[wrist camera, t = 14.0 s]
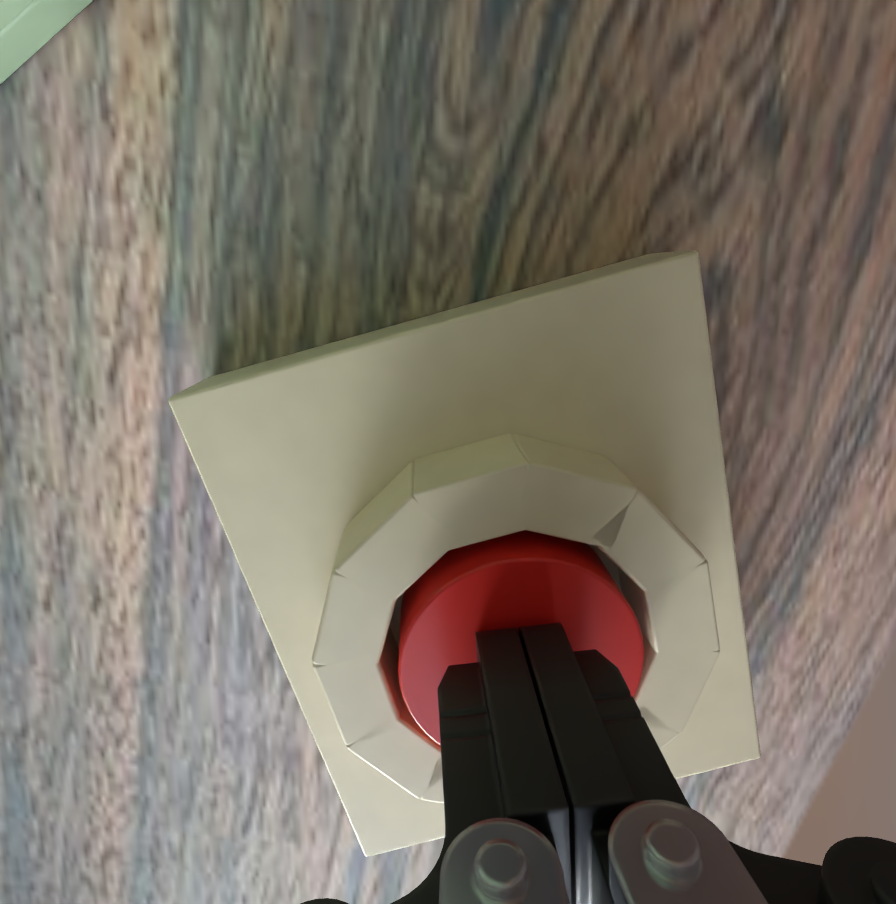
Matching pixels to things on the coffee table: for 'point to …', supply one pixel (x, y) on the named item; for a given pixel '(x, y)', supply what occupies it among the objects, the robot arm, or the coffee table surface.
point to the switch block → (484, 507)
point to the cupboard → (31, 28)
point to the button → (509, 610)
